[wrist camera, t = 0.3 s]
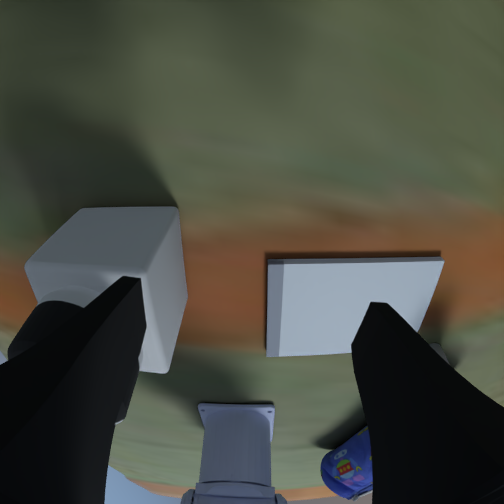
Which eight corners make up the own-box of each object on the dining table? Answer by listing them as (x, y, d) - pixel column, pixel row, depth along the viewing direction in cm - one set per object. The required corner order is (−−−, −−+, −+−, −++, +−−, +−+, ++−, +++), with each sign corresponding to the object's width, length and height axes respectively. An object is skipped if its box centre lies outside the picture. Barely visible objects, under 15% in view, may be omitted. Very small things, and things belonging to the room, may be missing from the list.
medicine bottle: (80, 206, 18) (-34, 329, 8) (180, 204, 18) (101, 364, 8) (101, 291, 22) (35, 421, 12) (189, 297, 22) (152, 453, 12)
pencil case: (358, 451, 39) (367, 503, 31) (311, 450, 37) (316, 508, 29) (460, 369, 28) (488, 433, 20) (414, 362, 27) (443, 441, 18)
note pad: (409, 341, 25) (411, 346, 24) (266, 351, 25) (266, 356, 24) (440, 256, 20) (444, 261, 19) (267, 259, 20) (268, 264, 20)
